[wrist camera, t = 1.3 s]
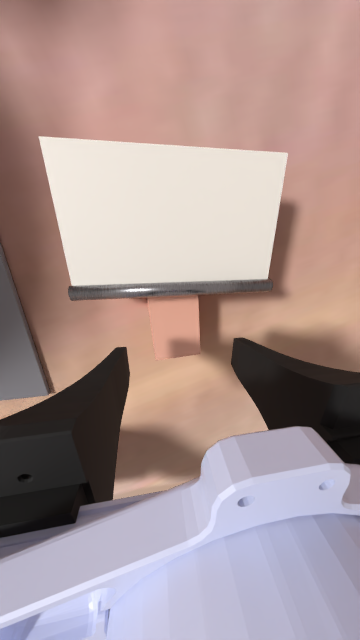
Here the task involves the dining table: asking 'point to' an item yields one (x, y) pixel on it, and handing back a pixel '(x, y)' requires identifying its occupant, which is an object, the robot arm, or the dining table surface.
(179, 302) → the tall pink rectangular block
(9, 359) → the mat
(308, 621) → the robot arm
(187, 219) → the panel
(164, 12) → the dining table surface
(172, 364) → the dining table surface
